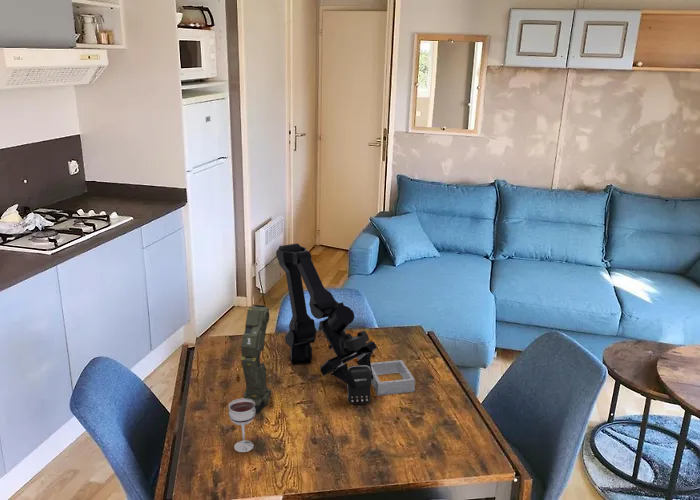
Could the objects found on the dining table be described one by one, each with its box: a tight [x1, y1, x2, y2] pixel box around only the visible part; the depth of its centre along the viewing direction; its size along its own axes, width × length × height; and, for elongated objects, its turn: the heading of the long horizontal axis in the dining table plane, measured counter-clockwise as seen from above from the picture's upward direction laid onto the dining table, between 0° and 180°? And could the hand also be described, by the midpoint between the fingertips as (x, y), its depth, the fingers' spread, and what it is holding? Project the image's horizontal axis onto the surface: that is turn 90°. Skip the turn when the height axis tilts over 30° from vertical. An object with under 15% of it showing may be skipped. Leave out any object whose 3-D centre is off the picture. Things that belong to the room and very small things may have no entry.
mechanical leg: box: [240, 304, 272, 415], centre depth 169 cm, size 14×7×30 cm, turn 168°
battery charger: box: [346, 364, 372, 405], centre depth 170 cm, size 7×4×11 cm, turn 96°
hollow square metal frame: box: [371, 359, 416, 396], centre depth 183 cm, size 12×13×4 cm
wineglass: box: [228, 397, 257, 453], centre depth 150 cm, size 7×7×12 cm
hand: (363, 383), depth 169 cm, fingers closed on battery charger, 7 cm apart
